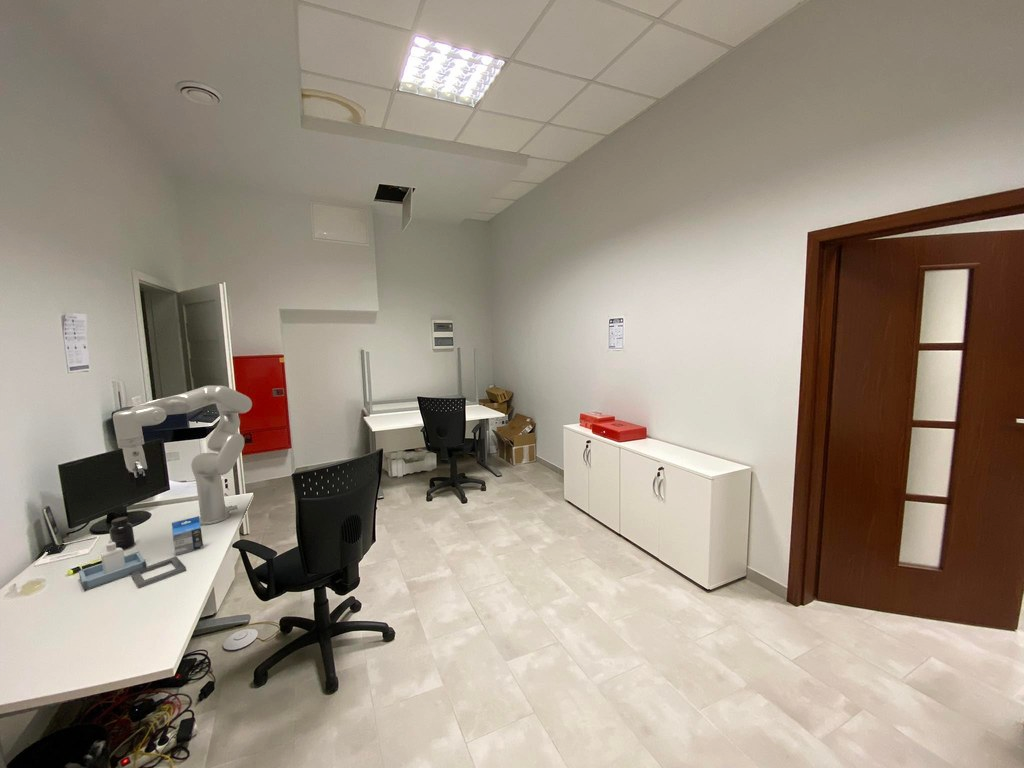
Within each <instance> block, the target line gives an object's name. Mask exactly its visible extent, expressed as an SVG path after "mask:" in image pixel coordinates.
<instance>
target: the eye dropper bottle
mask: <svg viewBox="0 0 1024 768" xmlns="http://www.w3.org/2000/svg"><path fill="white" fill-rule="evenodd" d="M105 547H106V550H105V551H103V552H102V554H101V557H100V558H101V563H102V565H103V572H104V574H107V573H110V572H113V571H116V570H119V569H122V568H124V567H126V565H125V559H124V556H125V554H124V553H125V552H124V550H123V549H122V548H116V543H115V542H112V540H111V539H109V540H108V543H107V544H106V546H105Z"/></svg>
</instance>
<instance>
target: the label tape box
mask: <svg viewBox="0 0 1024 768" xmlns="http://www.w3.org/2000/svg"><path fill="white" fill-rule="evenodd" d="M199 518H200V516H194V517H193V516H192V517H190V518H185V519H182V520H177V521H173V522H171V526H172V528H171V531H172V533H171V534H172V541H173V547H174V554H175V556H178V555H181V554H185V553H188V552H193V551H195V550H198V549H203V548H204V541H203V535H202V528H201V527H202V525H200V521H199Z"/></svg>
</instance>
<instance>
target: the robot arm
mask: <svg viewBox="0 0 1024 768" xmlns="http://www.w3.org/2000/svg"><path fill="white" fill-rule="evenodd" d="M210 405H215V406H216V409H217V412H218V414H219V422H218V424H217V426H216V427H215V429H214V430H213V432H212V434H211V435H210V437H209V439H208V441H207V448H208V449H209V450H210V451H212V452H203V453H199V454H197V455H195V456H194V457H193V458H192V461H191V469H192V472H193V476H194V480H195V482H196V483H195V484H196V489H197V490H196V491H197V501H198V507H199V515H200V516H199V521H200V525H201V526H207V525H213V524H217V523H220V522H223V521H226V520H227V519H228V518H229V517H231V511H236V510H238V505H237V504H235V505H229V506H226V504H225V503H226V501H225V494H224V486H223V478H222V476H224V475H227V474H228V473H229V472H231V470H232V469H233V468H234V466H235V464H236V462H237V461H238V459H239V457H240V455H241V453H242V452H243V449H244V448H245V447H244V446H245V437H244V436H243V434H241V433H239V432H238V430H239V428H240V425H241V419H240V417H239V414H246V413H247V412H249V411H250V410H251V409H252V407H253V402H252V399H251V398H250V397H249V396H247V395H246V394H243V393H241V392H239V391H237V390H234V389H233V388H231V387H228V386H226V385H203V386H202V387H198V388H195V389H192V390H189V391H186V392H184V393H183V392H181V393H180V394H176V395H171V396H166V397H162V398H158V399H154V400H150V401H147V402H143V403H141V404H138V405H134V406H133V407H131V408H129V409H126V410H120V411H119V410H118V411H116V412H114V413H113V415H112V421H113V422H112V423H113V427H114V433H115V437H116V443H117V448H118V449H122V454H123V458H124V459H123V460H124V462H125V468H126V469H127V471H128V477H129V481H130V483H134V484H135V485H134V486H135V488H137V489H138V488H141V487H146V486H147V484H148V483H147V477H146V474H145V471H144V470H147V469H148V465H147V461H146V456H145V451H144V448H143V445H145V439H144V435H143V428H142V427H148V426H156V425H160V424H161V423H164V421H165V420H166V418H167V416H169V415H181V414H187V413H191V412H193V411H195V410H198V409H201V408H203V407H207V406H210Z"/></svg>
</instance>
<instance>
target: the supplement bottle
mask: <svg viewBox="0 0 1024 768" xmlns="http://www.w3.org/2000/svg"><path fill="white" fill-rule="evenodd" d="M108 533H109V537H110V539H109V540H112V542H115V543H116V548H122V549H123V551H125V550H127V549H129V548H131V547H134V545H135V544H136V540H135V535H134V534H135V533H134V527H133V524H132V523H130V522H129V518H128V516H121V517H117V518H114V519H112V520H111V527H110V528H109V532H108Z"/></svg>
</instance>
